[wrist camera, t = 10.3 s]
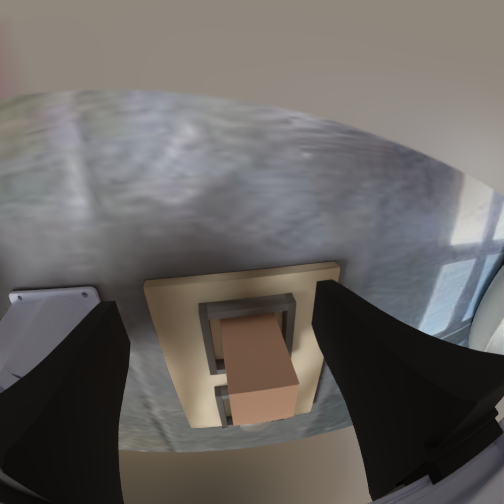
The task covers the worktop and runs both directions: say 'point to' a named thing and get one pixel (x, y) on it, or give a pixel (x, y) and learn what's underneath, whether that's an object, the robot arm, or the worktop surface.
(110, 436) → the robot arm
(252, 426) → the pin
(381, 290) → the worktop surface
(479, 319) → the serving bowl
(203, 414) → the board
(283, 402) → the tan tall block
